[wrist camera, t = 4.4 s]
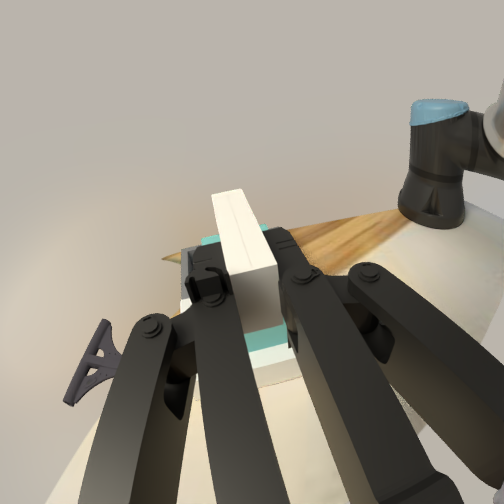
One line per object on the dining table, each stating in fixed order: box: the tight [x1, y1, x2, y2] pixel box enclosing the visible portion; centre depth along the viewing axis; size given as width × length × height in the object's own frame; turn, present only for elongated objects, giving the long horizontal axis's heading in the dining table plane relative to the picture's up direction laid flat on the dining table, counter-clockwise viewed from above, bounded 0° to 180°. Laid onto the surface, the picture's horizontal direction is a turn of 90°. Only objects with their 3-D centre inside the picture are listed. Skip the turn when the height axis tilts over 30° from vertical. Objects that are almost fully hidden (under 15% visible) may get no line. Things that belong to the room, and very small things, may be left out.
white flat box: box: [180, 298, 302, 401], centre depth 31 cm, size 16×12×4 cm
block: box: [201, 224, 288, 352], centre depth 27 cm, size 6×6×10 cm
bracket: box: [63, 319, 122, 407], centre depth 31 cm, size 14×15×3 cm
